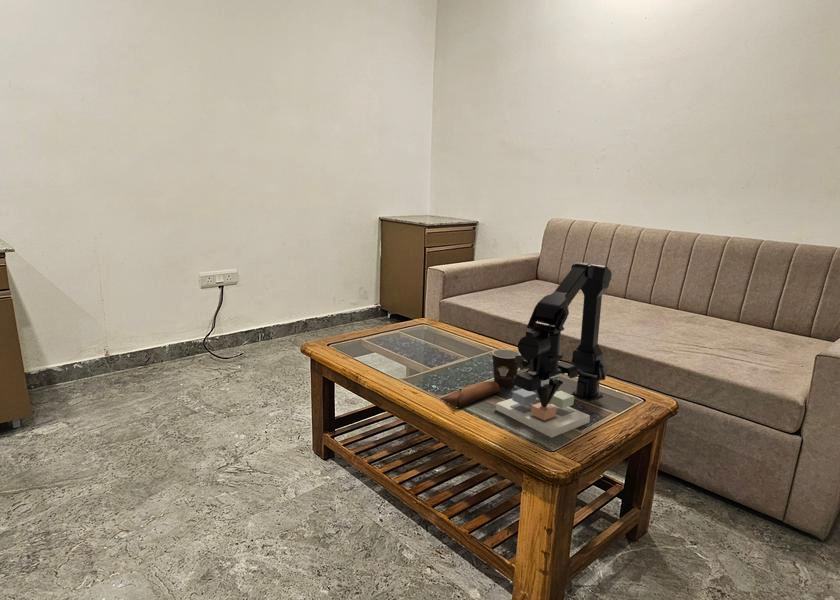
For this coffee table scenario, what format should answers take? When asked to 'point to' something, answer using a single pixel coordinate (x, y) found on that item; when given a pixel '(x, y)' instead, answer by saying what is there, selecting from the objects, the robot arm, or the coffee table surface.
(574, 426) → the keypad board
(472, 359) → the coffee table surface
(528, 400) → the slate key
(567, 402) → the sage key
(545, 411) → the terracotta key
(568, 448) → the coffee table surface
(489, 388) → the sunglasses case
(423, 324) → the coffee table surface
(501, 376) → the coffee mug
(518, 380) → the robot arm
